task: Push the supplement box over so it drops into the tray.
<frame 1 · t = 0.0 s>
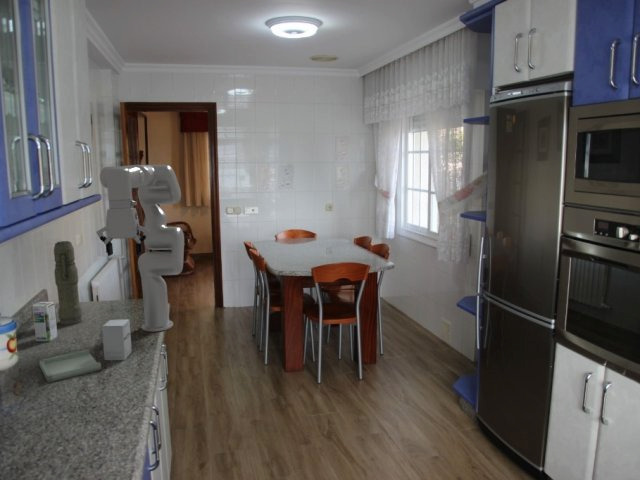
hand: (124, 254, 176), 37 cm above the counter, tool pointing down, fingers open, 9 cm apart
tray: (70, 367, 175), on the counter
stone figurine: (71, 322, 223), on the counter
supplement box: (118, 356, 185), on the counter
syrup box: (47, 339, 203), on the counter
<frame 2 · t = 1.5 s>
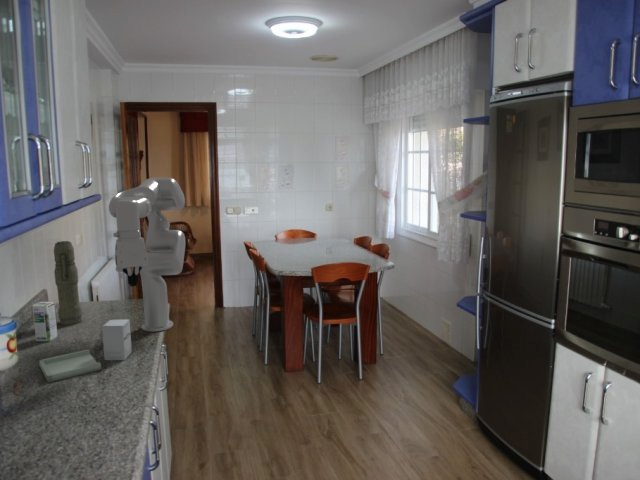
hand: (133, 285, 184), 25 cm above the counter, tool pointing down, fingers closed
nothing on the counter moved.
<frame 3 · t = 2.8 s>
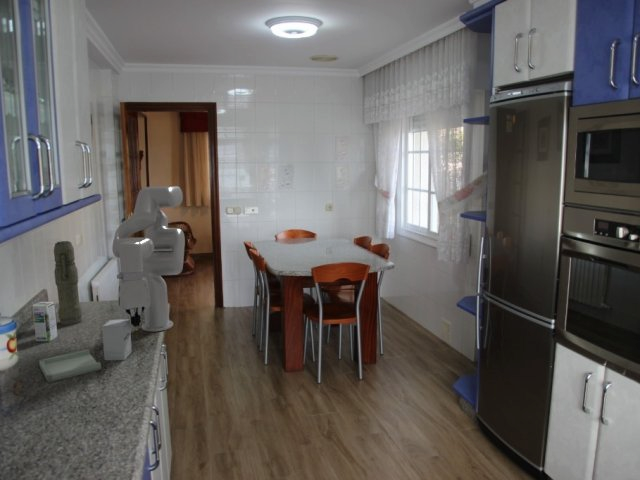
hand: (136, 325, 187), 10 cm above the counter, tool pointing down, fingers closed
supplement box: (118, 356, 185), on the counter, touching gripper
everything else where it was.
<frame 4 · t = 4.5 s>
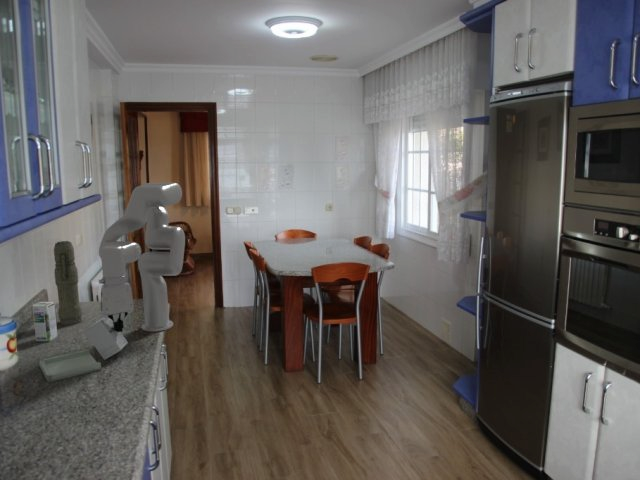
hand: (118, 331, 183), 9 cm above the counter, tool pointing down, fingers closed
supplement box: (117, 351, 184), point 2 cm above the counter
everything else where it was.
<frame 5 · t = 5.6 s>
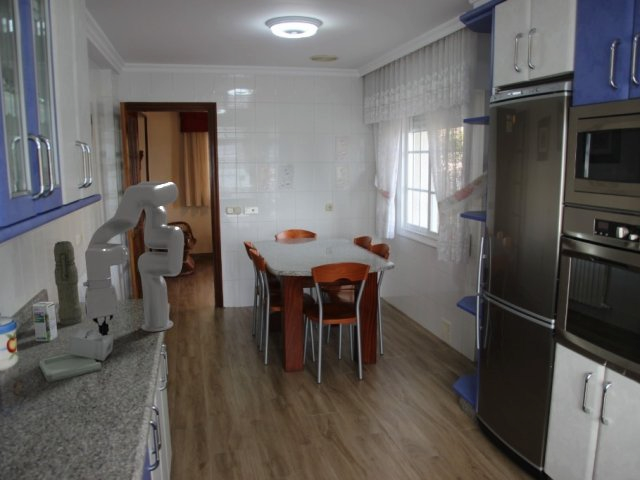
hand: (104, 334, 181), 9 cm above the counter, tool pointing down, fingers closed
supplement box: (109, 346, 183), point 4 cm above the counter, touching tray
everything else where it was.
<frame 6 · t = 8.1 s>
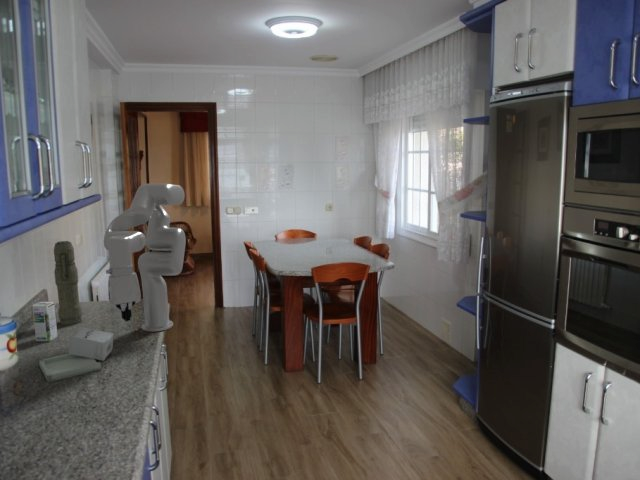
hand: (127, 319, 186), 12 cm above the counter, tool pointing down, fingers closed
nothing on the counter moved.
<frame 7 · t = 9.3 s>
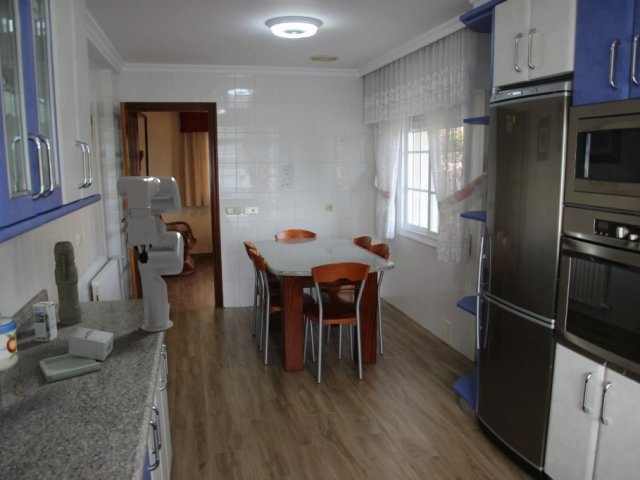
hand: (143, 262, 188), 32 cm above the counter, tool pointing down, fingers closed
nothing on the counter moved.
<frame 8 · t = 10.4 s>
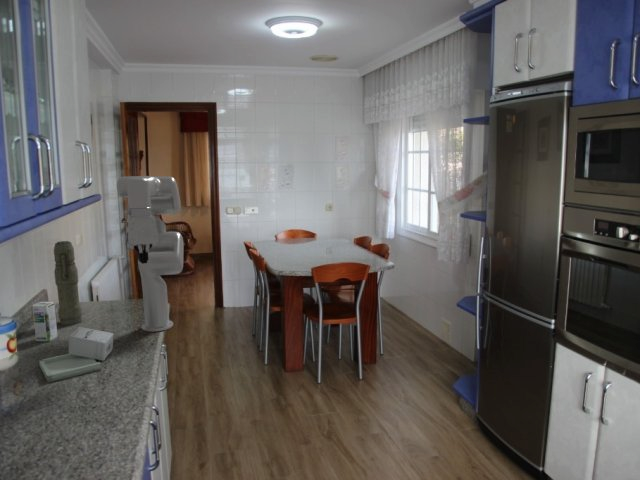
hand: (143, 262, 188), 32 cm above the counter, tool pointing down, fingers closed
nothing on the counter moved.
at the end: supplement box tilted 78°; supplement box inside the target area (7.4 cm from its centre), point 3.9 cm above the counter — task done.
